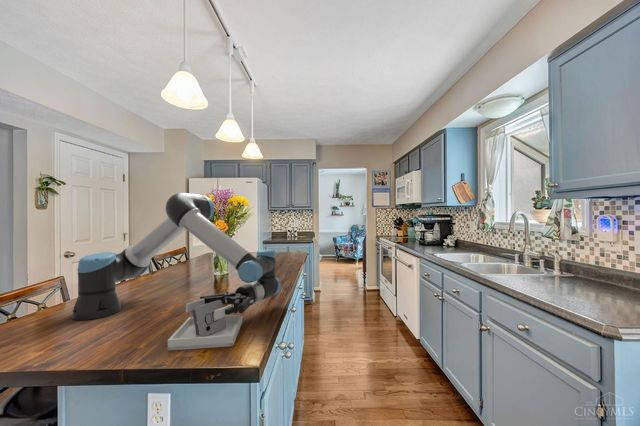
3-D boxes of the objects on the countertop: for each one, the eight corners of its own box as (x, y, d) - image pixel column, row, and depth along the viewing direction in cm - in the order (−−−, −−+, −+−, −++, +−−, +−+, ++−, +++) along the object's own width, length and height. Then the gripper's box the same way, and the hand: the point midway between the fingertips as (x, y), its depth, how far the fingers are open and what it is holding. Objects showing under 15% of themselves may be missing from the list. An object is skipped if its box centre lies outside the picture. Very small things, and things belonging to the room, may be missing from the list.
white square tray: (189, 325, 97) (189, 317, 97) (242, 322, 99) (242, 314, 99) (167, 350, 79) (167, 340, 79) (233, 346, 81) (232, 335, 81)
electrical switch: (201, 339, 84) (199, 307, 84) (191, 336, 87) (189, 306, 87) (226, 328, 92) (224, 300, 92) (216, 326, 94) (215, 299, 95)
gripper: (275, 309, 98) (228, 331, 80) (226, 299, 111) (175, 316, 92) (275, 288, 98) (228, 305, 80) (226, 280, 111) (175, 294, 92)
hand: (200, 311), depth 86 cm, fingers open, 13 cm apart
